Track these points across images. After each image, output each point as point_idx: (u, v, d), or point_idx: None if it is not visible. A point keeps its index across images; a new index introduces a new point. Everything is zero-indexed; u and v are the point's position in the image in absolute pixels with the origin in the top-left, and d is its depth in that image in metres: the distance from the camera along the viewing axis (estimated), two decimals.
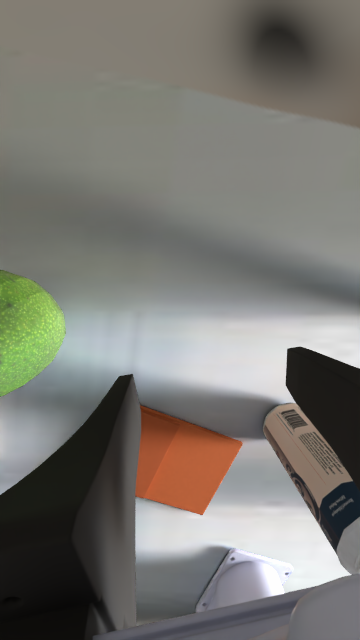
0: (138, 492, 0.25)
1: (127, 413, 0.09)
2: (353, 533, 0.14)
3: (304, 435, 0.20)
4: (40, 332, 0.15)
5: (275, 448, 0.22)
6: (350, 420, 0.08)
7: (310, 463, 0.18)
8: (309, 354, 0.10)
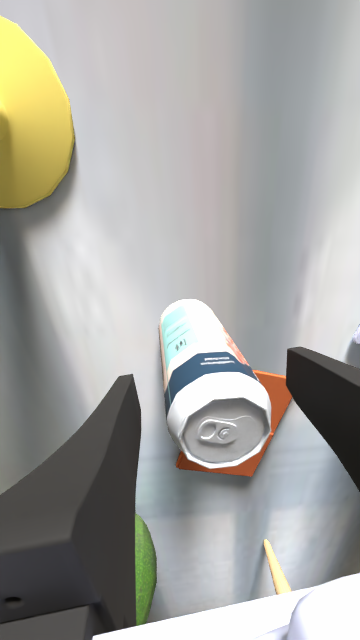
0: None
1: (127, 413, 0.09)
2: None
3: None
4: None
5: None
6: (350, 420, 0.08)
7: None
8: (308, 354, 0.10)
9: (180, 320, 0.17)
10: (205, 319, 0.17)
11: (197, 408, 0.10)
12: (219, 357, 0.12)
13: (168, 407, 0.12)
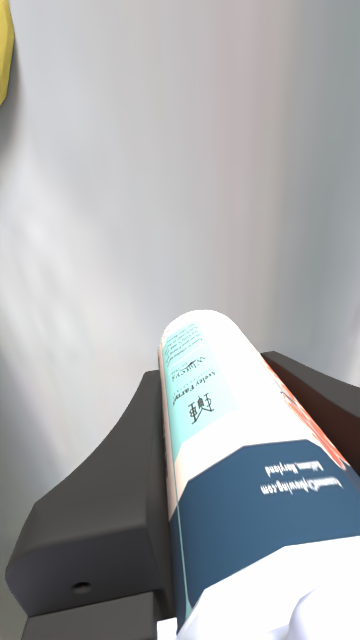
0: None
1: (159, 408, 0.09)
2: None
3: None
4: None
5: None
6: None
7: None
8: (279, 359, 0.10)
9: (193, 349, 0.10)
10: (238, 349, 0.10)
11: None
12: (298, 462, 0.05)
13: (180, 591, 0.05)
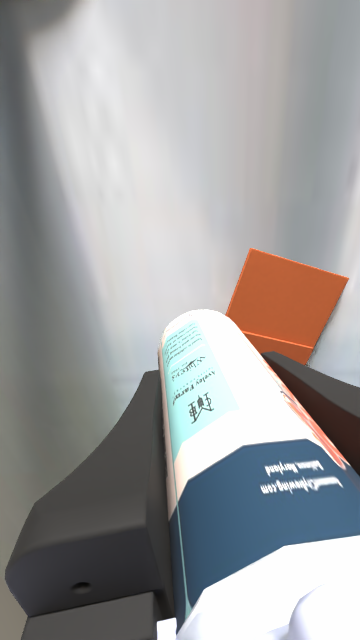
0: (305, 354, 0.23)
1: (159, 408, 0.09)
2: None
3: None
4: None
5: None
6: None
7: None
8: (279, 359, 0.10)
9: (193, 348, 0.10)
10: (237, 348, 0.10)
11: None
12: (298, 461, 0.05)
13: (180, 591, 0.05)
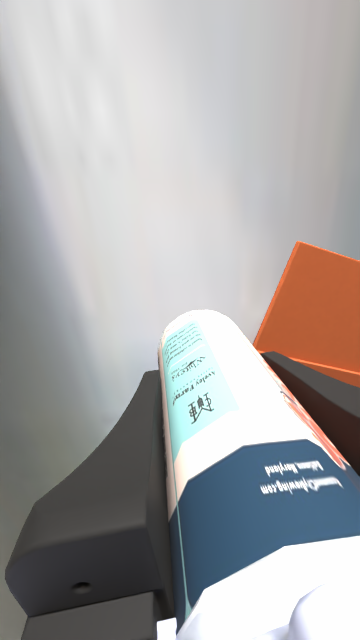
0: None
1: (159, 408, 0.09)
2: None
3: None
4: None
5: None
6: None
7: None
8: (279, 358, 0.10)
9: (193, 348, 0.10)
10: (237, 348, 0.10)
11: None
12: (298, 462, 0.05)
13: (180, 592, 0.05)
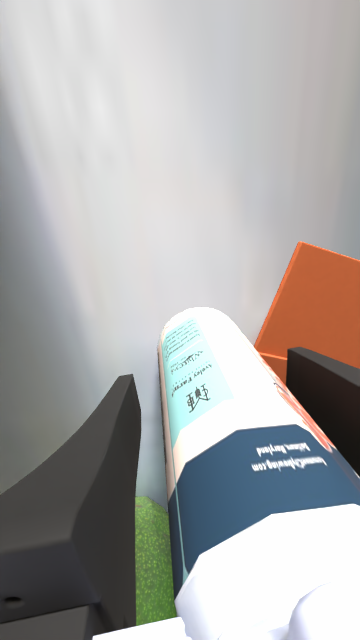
0: None
1: (127, 413, 0.09)
2: None
3: None
4: None
5: None
6: (350, 420, 0.08)
7: None
8: (308, 354, 0.10)
9: (191, 344, 0.11)
10: (234, 343, 0.10)
11: None
12: (287, 444, 0.06)
13: (178, 562, 0.05)
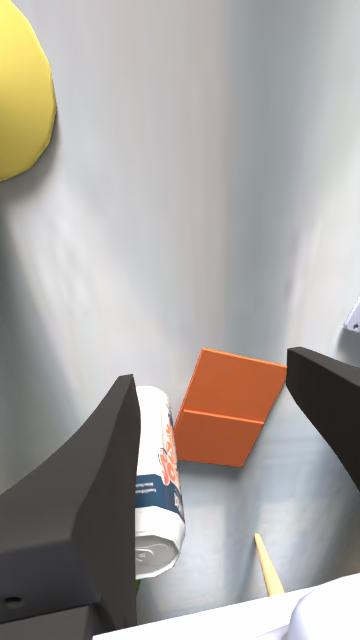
0: (256, 428, 0.26)
1: (127, 413, 0.09)
2: None
3: None
4: None
5: None
6: (350, 420, 0.08)
7: None
8: (308, 354, 0.10)
9: None
10: (150, 421, 0.19)
11: None
12: (145, 483, 0.15)
13: None
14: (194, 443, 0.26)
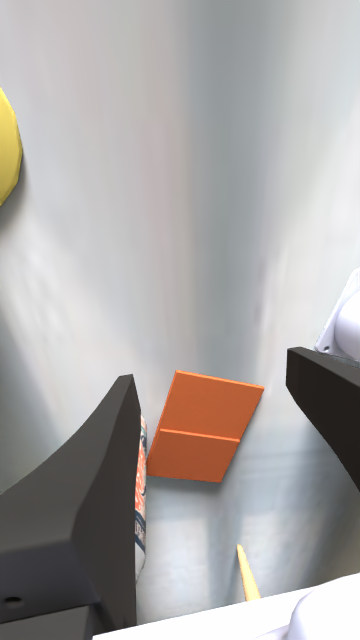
0: (233, 446, 0.27)
1: (127, 413, 0.09)
2: None
3: None
4: None
5: None
6: (350, 420, 0.08)
7: None
8: (309, 354, 0.10)
9: None
10: None
11: None
12: None
13: None
14: (172, 460, 0.27)
